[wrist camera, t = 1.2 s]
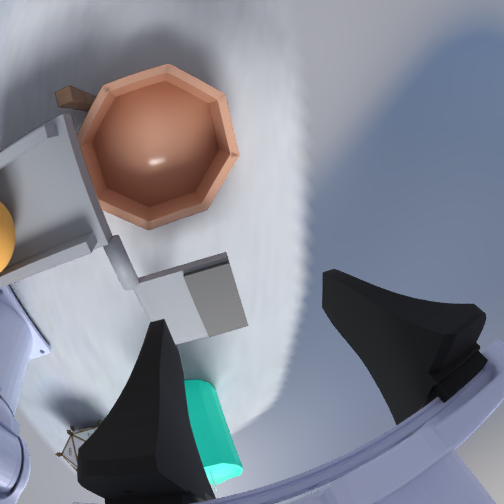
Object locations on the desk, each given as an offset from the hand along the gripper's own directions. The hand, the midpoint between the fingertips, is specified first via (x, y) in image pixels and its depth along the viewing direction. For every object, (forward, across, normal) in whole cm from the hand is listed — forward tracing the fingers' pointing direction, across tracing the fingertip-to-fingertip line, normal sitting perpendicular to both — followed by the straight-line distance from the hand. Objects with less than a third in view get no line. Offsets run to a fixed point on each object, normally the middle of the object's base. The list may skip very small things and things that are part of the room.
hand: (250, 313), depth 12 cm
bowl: (+10, +2, -7) cm, 13 cm away
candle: (+10, +6, +18) cm, 22 cm away
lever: (+5, +7, -3) cm, 9 cm away
